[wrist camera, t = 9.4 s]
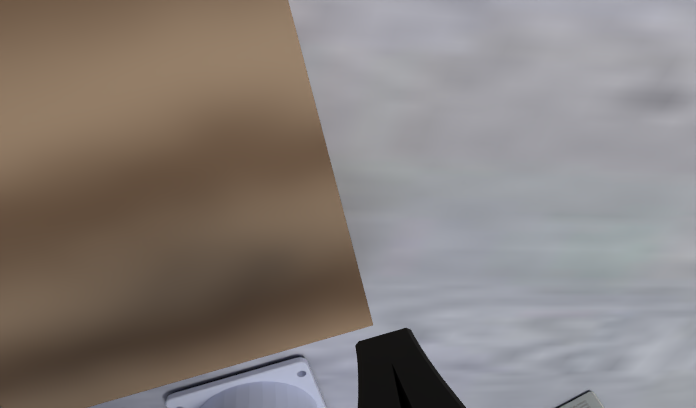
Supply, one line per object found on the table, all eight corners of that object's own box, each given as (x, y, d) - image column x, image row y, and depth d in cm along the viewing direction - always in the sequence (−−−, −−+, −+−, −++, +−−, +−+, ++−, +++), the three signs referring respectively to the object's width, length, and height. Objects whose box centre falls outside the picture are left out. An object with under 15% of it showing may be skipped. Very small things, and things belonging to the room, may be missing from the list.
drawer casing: (360, 280, 22) (373, 325, 20) (50, 368, 22) (23, 425, 19) (239, -174, 12) (235, -201, 10) (-337, -34, 12) (-497, -25, 9)
